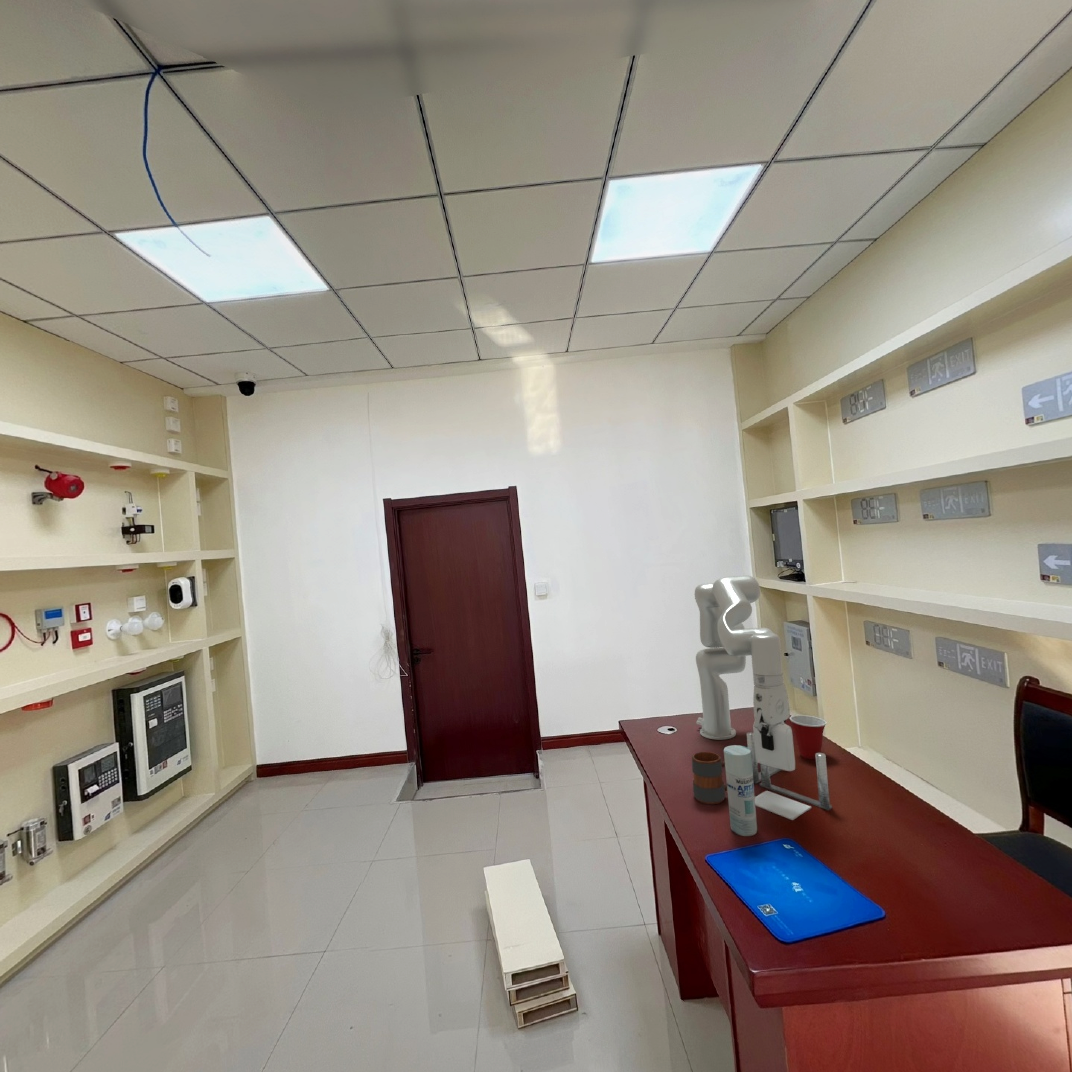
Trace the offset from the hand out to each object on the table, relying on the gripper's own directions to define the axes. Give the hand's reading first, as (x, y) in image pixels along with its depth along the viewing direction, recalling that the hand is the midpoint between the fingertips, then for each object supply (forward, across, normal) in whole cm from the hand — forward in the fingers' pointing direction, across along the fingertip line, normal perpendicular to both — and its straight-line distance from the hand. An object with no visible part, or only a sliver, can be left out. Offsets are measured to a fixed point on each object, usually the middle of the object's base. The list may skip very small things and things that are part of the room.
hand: (773, 745), depth 148 cm
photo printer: (+6, 0, 0) cm, 6 cm away
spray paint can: (+16, -17, -1) cm, 24 cm away
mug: (+16, -8, +14) cm, 23 cm away
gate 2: (+16, +7, 0) cm, 18 cm away
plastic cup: (+16, +36, +11) cm, 41 cm away
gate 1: (+16, +15, +13) cm, 26 cm away
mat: (+16, 0, 0) cm, 16 cm away
